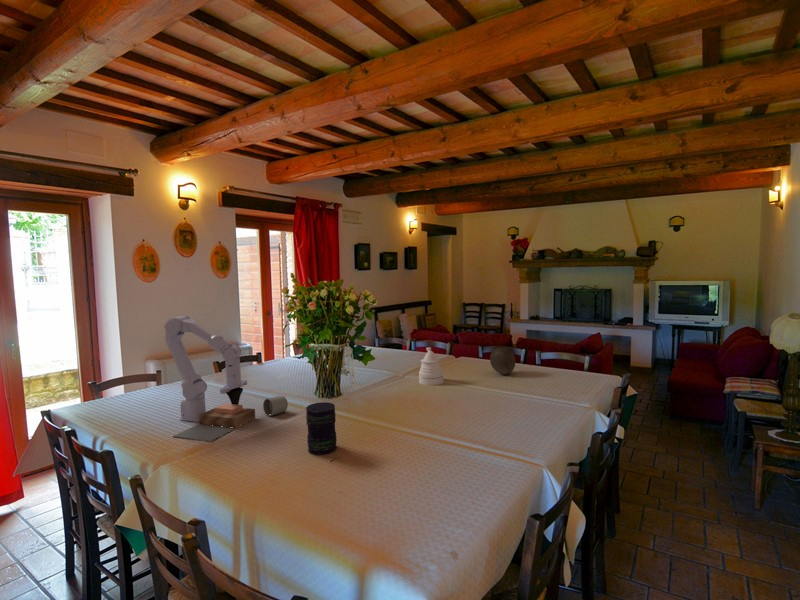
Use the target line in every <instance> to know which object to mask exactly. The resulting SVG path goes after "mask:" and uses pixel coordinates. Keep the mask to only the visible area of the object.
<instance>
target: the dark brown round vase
mask: <svg viewBox="0 0 800 600" xmlns="http://www.w3.org/2000/svg"><path fill="white" fill-rule="evenodd" d="M489 361H490V362H489V363H490V365H491V368H493V370H494V371H495V372H497V373H498V374H500V375H505V376H506V375H509V374H511V373H512V372H514V369H515V368H516V367H515V366H516V357H515V354H514V352H512V350H511V349H510V348H507V347H497V348H495V349H493V351H492V352H491V353H490V357H489Z"/></svg>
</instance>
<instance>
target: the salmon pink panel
mask: <svg viewBox="0 0 800 600" xmlns="http://www.w3.org/2000/svg"><path fill="white" fill-rule="evenodd" d="M214 408H215V413H224V414H235V413H237V412H239V411H241V410H243V408H244V406H243V404H238V405H237V404H232V403H223V404H221V405H218V406H216V407H214Z"/></svg>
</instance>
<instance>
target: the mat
mask: <svg viewBox="0 0 800 600" xmlns="http://www.w3.org/2000/svg"><path fill="white" fill-rule="evenodd" d="M233 429H235V430H236V428H230V427H221V426H212V425H202V424H200V423H198V424H196V425H194V426H191V427H189V428H187V429H185V430H182V431H181V432H179V433H177V434H174V435H172V438H175V437H176V438H177V439H183V438H184V440H191V439H196V440H195V441H200V440H205V441H204V442H208V441H212V442H214V441H216V440H217V439H216V438H218V437H220V436H222V435H223V436H225V435H226V433H227V434H229V433H230V432H229V431H231V430H233ZM233 431H234V430H233ZM228 432H229V433H228ZM231 432H232V431H231ZM224 434H225V435H224ZM223 436H222V437H223ZM220 438H221V437H220ZM215 439H216V440H215ZM218 439H219V438H218ZM213 440H214V441H213Z"/></svg>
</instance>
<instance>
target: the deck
mask: <svg viewBox="0 0 800 600" xmlns="http://www.w3.org/2000/svg"><path fill="white" fill-rule="evenodd" d="M215 408H216V407H213V408H211V409H209V410H206V412H205V413H202V414H200V415H199V421H198V422H199V423H198V424H202V425H213V426H223V427H233V428H235V429H238V428H240V427H241V426H240V425H242V424H244V423H246V422H247V423H249V422H251V421H253V420H255V419H256V409H255V408H248V407H243V410H241V411H239V412H237V413H235V414H224V413H215ZM254 418H255V419H254ZM252 419H253V420H252ZM250 420H251V421H250ZM248 421H249V422H248ZM247 423H246V424H247ZM244 425H245V424H244ZM239 426H240V427H239ZM242 426H243V425H242ZM237 427H238V428H237Z"/></svg>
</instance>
